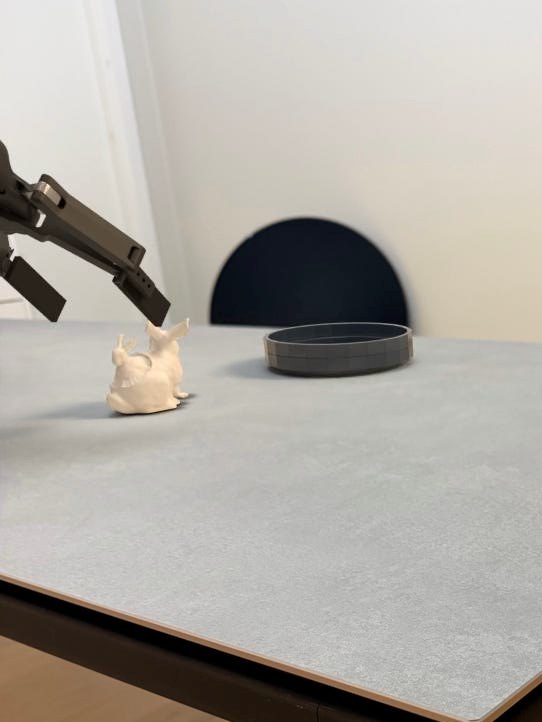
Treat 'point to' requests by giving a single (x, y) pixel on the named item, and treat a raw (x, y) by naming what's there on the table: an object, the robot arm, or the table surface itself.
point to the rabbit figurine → (148, 372)
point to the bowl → (338, 348)
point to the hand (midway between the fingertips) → (110, 313)
